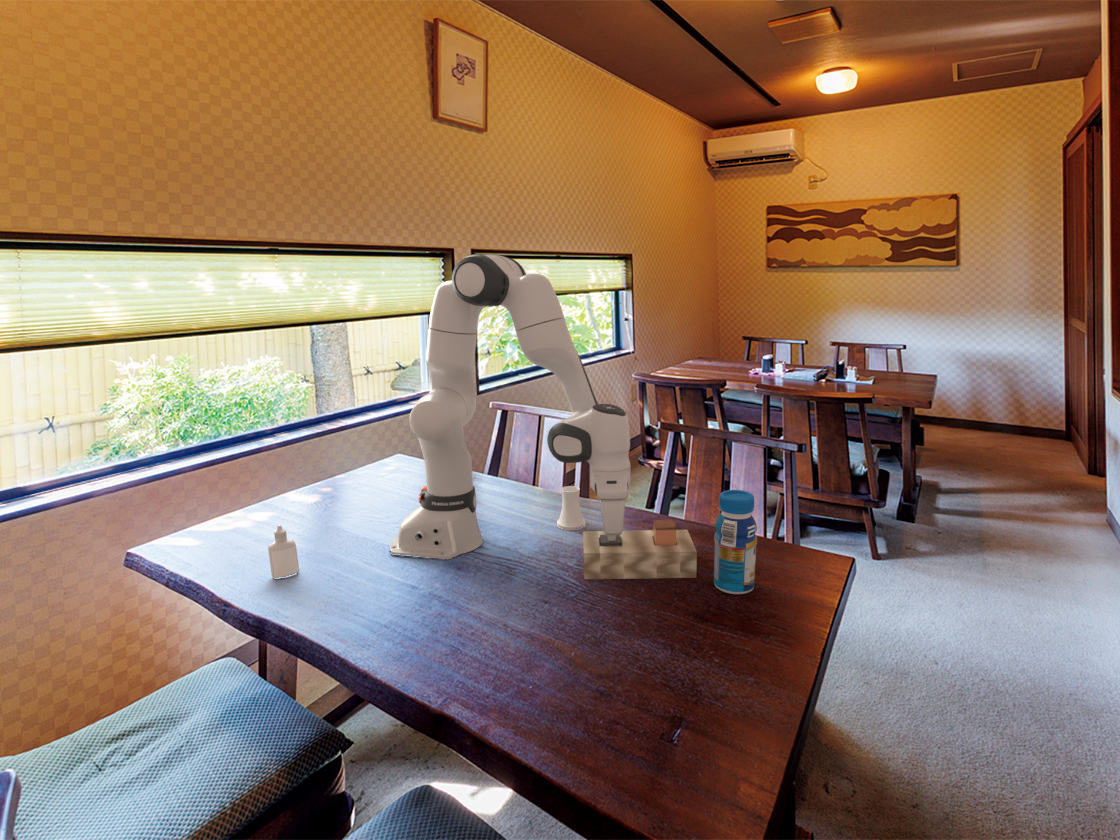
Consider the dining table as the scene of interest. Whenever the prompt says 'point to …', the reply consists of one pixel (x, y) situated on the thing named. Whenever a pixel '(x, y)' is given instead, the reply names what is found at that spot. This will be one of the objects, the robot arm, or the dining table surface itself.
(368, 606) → the dining table surface
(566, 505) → the vase
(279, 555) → the eye dropper bottle
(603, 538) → the charcoal plug
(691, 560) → the maple housing
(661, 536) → the terracotta plug
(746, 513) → the beverage bottle
